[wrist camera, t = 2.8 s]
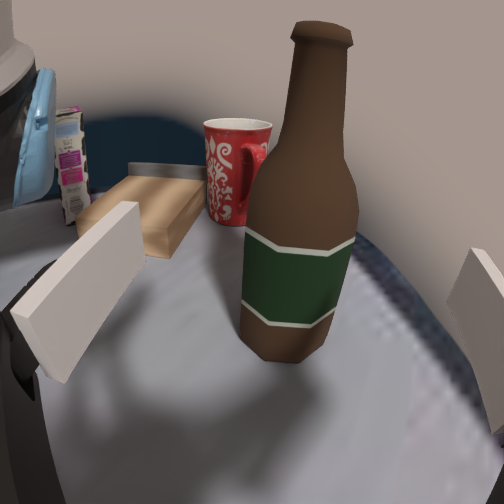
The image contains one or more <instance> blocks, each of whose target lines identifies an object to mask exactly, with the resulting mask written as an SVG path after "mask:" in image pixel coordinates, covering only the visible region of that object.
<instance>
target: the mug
mask: <svg viewBox="0 0 504 504" xmlns="http://www.w3.org/2000/svg"><path fill="white" fill-rule="evenodd" d="M203 126H204V129H205V143H206V160H207V178H208V193H209V211H210V216H211V218H212V219H213V220H214V221H216V222H218V223H220V224H223V225H229V226H243V225H246V218H247V211H248V204H249V198H250V193H251V188H252V183H253V181H254V179H255V176H256V174H257V172H258V170H259V167H260V165H261V163H262V162H263V161H264V160H265V158H266V157H267V156H268V149H269V141H270V134H271V130H272V127H273V125H272V124H271V123H268V122H265V121H260V120H253V119H241V118H223V119H213V120H208V121H206V122H204V123H203Z"/></svg>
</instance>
